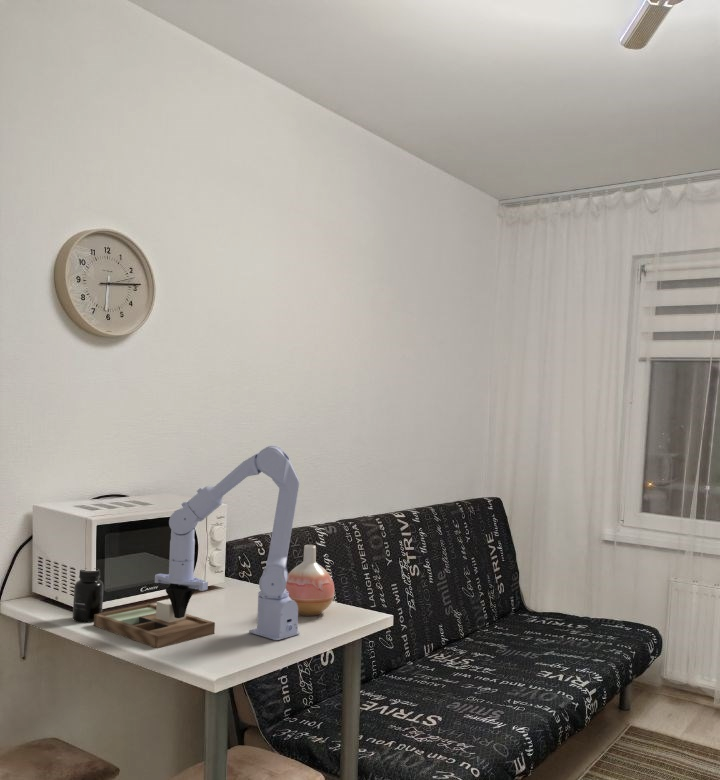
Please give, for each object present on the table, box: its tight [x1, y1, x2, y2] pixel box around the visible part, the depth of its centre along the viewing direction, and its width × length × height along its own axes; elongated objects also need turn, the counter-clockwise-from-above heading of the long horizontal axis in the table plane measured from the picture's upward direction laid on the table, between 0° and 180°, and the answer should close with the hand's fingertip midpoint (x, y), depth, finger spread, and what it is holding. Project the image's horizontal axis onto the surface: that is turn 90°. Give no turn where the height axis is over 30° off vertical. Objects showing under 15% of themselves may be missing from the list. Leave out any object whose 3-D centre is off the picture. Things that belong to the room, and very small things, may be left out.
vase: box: [286, 544, 336, 617], centre depth 203 cm, size 14×14×18 cm
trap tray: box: [93, 602, 216, 649], centre depth 183 cm, size 25×16×3 cm, turn 51°
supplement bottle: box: [72, 568, 104, 623], centre depth 190 cm, size 7×7×12 cm
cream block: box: [155, 598, 187, 622], centre depth 186 cm, size 5×5×4 cm
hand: (179, 617), depth 182 cm, fingers closed
